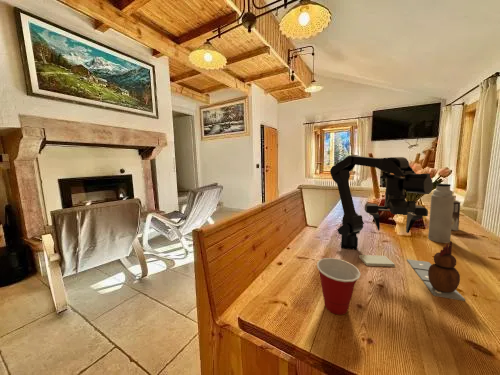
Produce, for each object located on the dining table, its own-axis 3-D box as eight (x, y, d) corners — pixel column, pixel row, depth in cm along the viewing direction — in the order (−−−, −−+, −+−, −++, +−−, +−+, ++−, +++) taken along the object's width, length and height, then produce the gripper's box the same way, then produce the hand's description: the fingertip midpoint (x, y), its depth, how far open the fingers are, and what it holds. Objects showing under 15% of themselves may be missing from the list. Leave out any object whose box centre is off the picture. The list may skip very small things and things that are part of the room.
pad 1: (413, 269, 74) (413, 267, 74) (406, 260, 80) (406, 259, 80) (437, 272, 71) (437, 271, 71) (428, 263, 77) (429, 261, 77)
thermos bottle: (425, 236, 105) (428, 183, 101) (444, 237, 102) (448, 183, 99) (433, 242, 97) (437, 184, 94) (454, 243, 94) (459, 184, 91)
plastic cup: (348, 330, 48) (349, 283, 46) (308, 307, 56) (308, 266, 54) (365, 308, 55) (367, 267, 53) (328, 290, 63) (328, 254, 61)
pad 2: (422, 280, 66) (422, 279, 66) (414, 270, 73) (414, 269, 73) (449, 285, 64) (450, 283, 64) (439, 273, 70) (439, 272, 70)
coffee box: (455, 227, 116) (457, 200, 114) (458, 231, 111) (461, 202, 109) (434, 225, 121) (436, 199, 119) (436, 228, 116) (438, 201, 114)
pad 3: (433, 295, 59) (433, 293, 59) (423, 282, 65) (423, 281, 65) (465, 301, 56) (465, 299, 56) (451, 286, 63) (451, 285, 63)
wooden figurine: (447, 284, 63) (451, 238, 61) (463, 296, 57) (468, 246, 56) (423, 282, 64) (426, 238, 63) (436, 294, 59) (440, 245, 57)
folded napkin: (366, 265, 77) (366, 263, 77) (359, 257, 84) (359, 255, 84) (394, 266, 76) (394, 264, 76) (384, 258, 83) (384, 255, 82)
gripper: (369, 193, 71) (368, 235, 73) (437, 195, 64) (433, 242, 65) (365, 189, 81) (363, 226, 83) (422, 190, 74) (419, 231, 76)
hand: (392, 231), depth 76 cm, fingers open, 9 cm apart
